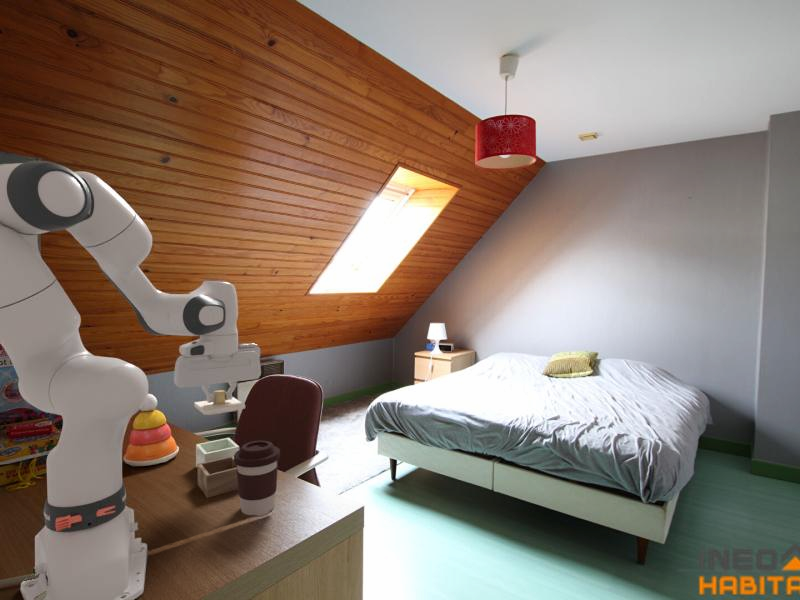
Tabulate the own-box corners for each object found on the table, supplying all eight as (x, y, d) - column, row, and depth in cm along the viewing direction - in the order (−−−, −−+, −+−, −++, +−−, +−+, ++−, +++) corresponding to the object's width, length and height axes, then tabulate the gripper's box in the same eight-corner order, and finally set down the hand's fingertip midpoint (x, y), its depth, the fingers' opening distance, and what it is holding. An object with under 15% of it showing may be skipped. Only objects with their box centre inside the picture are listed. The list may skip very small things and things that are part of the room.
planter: (239, 471, 123) (239, 446, 123) (205, 480, 118) (204, 454, 118) (229, 461, 131) (229, 437, 130) (196, 469, 125) (195, 444, 125)
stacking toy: (181, 447, 141) (180, 386, 140) (176, 465, 128) (174, 397, 127) (129, 454, 136) (127, 390, 135) (118, 472, 123) (116, 402, 122)
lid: (245, 410, 111) (245, 392, 111) (204, 417, 106) (204, 398, 105) (233, 402, 119) (232, 385, 119) (194, 408, 113) (194, 390, 113)
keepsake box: (245, 490, 112) (244, 466, 112) (207, 501, 107) (207, 476, 107) (233, 477, 120) (233, 455, 119) (197, 487, 114) (197, 464, 114)
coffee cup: (240, 526, 96) (239, 457, 95) (230, 506, 104) (229, 442, 104) (286, 513, 101) (285, 447, 101) (273, 495, 110) (272, 435, 109)
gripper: (255, 341, 121) (256, 392, 121) (172, 347, 108) (172, 404, 109) (264, 343, 116) (264, 397, 116) (177, 350, 103) (178, 409, 104)
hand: (219, 400), depth 112 cm, fingers closed on lid, 3 cm apart
